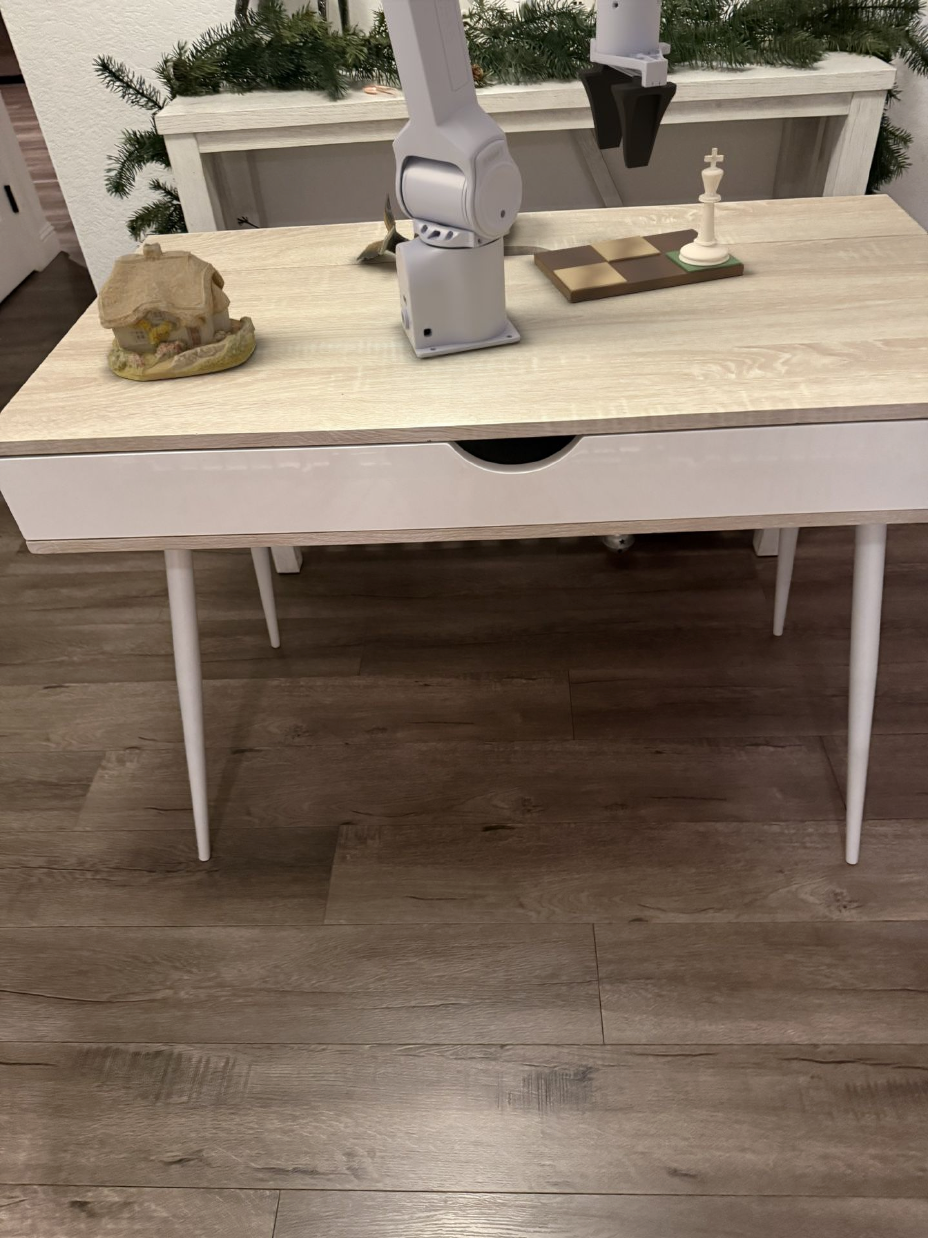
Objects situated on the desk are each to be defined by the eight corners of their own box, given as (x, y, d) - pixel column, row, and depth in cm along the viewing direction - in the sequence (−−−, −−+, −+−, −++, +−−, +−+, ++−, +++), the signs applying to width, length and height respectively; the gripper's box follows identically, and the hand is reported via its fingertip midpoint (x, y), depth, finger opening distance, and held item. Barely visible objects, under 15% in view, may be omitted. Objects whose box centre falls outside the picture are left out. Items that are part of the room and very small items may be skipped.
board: (570, 302, 88) (570, 290, 88) (533, 262, 97) (533, 251, 97) (743, 274, 91) (744, 262, 90) (691, 237, 100) (692, 226, 99)
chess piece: (677, 249, 94) (686, 142, 88) (727, 248, 93) (739, 140, 87) (679, 266, 90) (689, 156, 84) (731, 265, 90) (744, 154, 83)
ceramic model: (89, 384, 82) (48, 271, 75) (128, 332, 90) (95, 227, 84) (243, 376, 81) (216, 261, 74) (268, 325, 89) (246, 218, 83)
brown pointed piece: (453, 248, 99) (401, 216, 103) (427, 202, 93) (373, 170, 97) (407, 301, 99) (357, 268, 103) (377, 259, 93) (325, 225, 97)
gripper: (706, -6, 77) (691, 169, 85) (641, -22, 88) (633, 135, 96) (626, 3, 76) (619, 179, 84) (570, -14, 87) (569, 143, 95)
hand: (622, 156), depth 90 cm, fingers open, 7 cm apart
